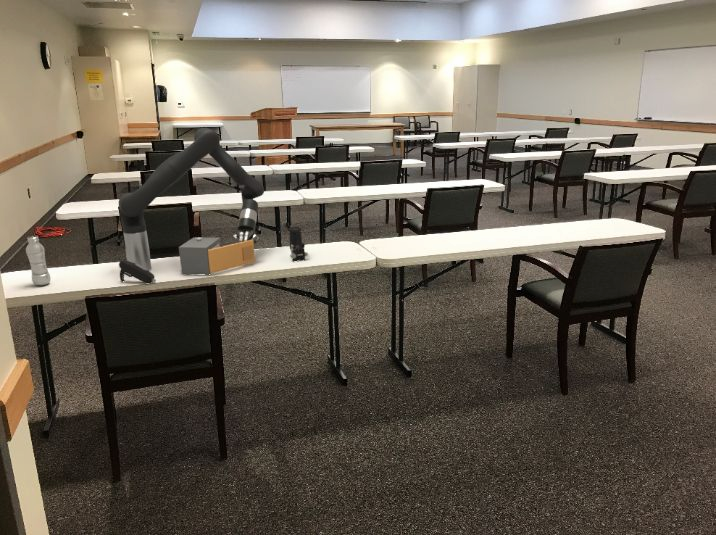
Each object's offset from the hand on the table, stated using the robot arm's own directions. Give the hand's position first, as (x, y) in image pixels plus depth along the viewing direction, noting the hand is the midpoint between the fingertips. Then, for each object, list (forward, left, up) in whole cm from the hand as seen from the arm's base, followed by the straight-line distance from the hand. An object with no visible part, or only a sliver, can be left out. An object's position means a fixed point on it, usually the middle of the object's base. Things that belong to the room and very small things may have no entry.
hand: (241, 255), depth 244 cm
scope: (+12, +22, -5) cm, 26 cm away
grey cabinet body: (-11, -13, -5) cm, 18 cm away
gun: (-19, -39, -5) cm, 44 cm away
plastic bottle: (-49, -63, -5) cm, 80 cm away
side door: (+1, -6, -4) cm, 7 cm away
